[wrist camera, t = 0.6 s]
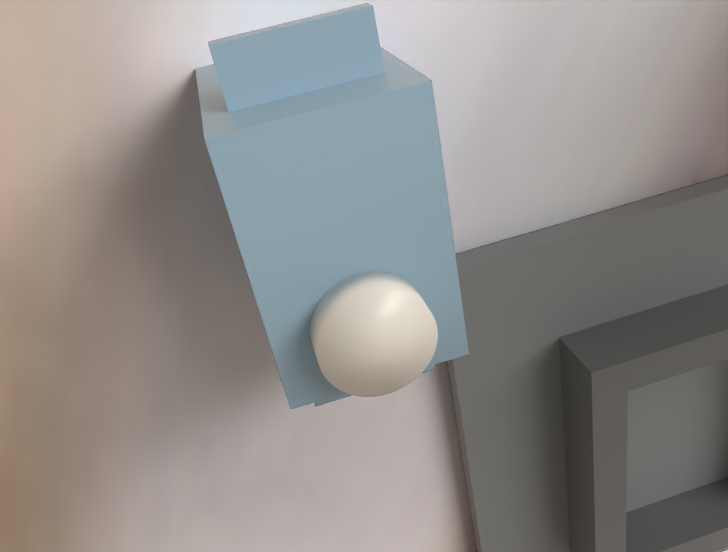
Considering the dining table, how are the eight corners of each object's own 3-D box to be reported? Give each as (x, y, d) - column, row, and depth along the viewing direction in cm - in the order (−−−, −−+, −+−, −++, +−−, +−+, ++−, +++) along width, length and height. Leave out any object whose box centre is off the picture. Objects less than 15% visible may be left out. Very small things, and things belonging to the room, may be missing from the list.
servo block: (343, -23, 16) (437, 14, 10) (399, 275, 20) (488, 418, 15) (178, 16, 16) (181, 77, 10) (270, 312, 20) (310, 476, 14)
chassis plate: (890, 127, 22) (977, 152, 20) (811, 500, 31) (864, 549, 29) (430, 261, 20) (465, 307, 18) (487, 617, 29) (514, 680, 27)
